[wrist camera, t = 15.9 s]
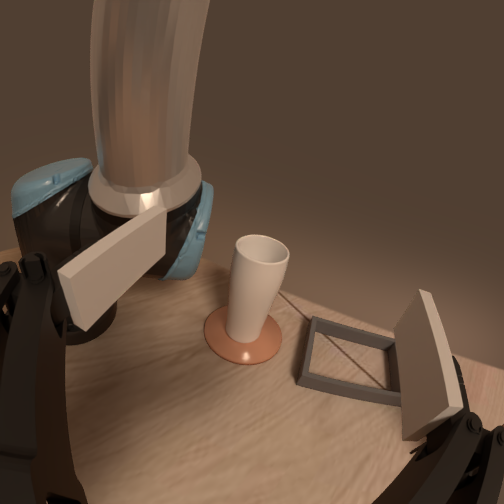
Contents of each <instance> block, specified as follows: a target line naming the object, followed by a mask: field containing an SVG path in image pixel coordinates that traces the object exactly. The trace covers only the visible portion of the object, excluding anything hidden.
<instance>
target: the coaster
mask: <svg viewBox="0 0 504 504" xmlns="http://www.w3.org/2000/svg"><path fill="white" fill-rule="evenodd" d="M227 310H228V306H224V307H221V308H219V309H217V310H215V311H214V312H212V313H211V314H210V316H209V317H208V318H207V320H206V323H205V328H204V335H205V339H206V341H207V344H208V345H209V347H210V348H211V349H212V350H213V351H214V352H215V353H216V354H217V355H218V356H220V357H221V358H223V359H225V360H227V361H229V362H232V363H236V364H241V365H255V364H260V363H263V362H265V361H267V360H269V359H271V358H272V357H273V356H274V355H275V354H276V353H277V352H278V350H279V348H280V345H281V342H282V333H281V330H280V327H279V325H278V324H277V322H276V321H275V320H274V319H273V318H272V317H271V316H270V315H268V316H267V318H266V320H265V323H264V325H263V327H262V330H261V333H260V336H259V337H258V338H257V339H256V340H255V341H253V342H251V343H239V342H236V341H234V340H233V339H231V338H230V337H229V336H228V334H227V332H226V321H227Z"/></svg>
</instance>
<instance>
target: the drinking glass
mask: <svg viewBox="0 0 504 504" xmlns="http://www.w3.org/2000/svg"><path fill="white" fill-rule="evenodd" d="M289 256H290V255H289V250H288V249H287V248H286V246H285V245H283V244H282V243H281V242H279V241H277V240H276V239H273V238H270V237H267V236H263V235H246V236H243V237H241V238H239V239H238V240H237V242H236V244H235V249H234V253H233V257H232V263H231V269H230V279H229V295H228V310H227V321H226V332H227V334H228V336H229V337H230V338H231V339H233V340H234V341H236V342H239V343H251V342H253V341H255V340H256V339H257V338H258V337H259V336H260V333H261V330H262V327H263V325H264V323H265V320H266V318H267V316H268V314H269V311H270V309H271V307H272V305H273V302H274V300H275V298H276V296H277V293H278V291H279V289H280V286H281V284H282V281H283V278H284V275H285V272H286V268H287V264H288V260H289Z"/></svg>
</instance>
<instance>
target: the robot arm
mask: <svg viewBox="0 0 504 504" xmlns="http://www.w3.org/2000/svg"><path fill="white" fill-rule="evenodd" d="M209 2H210V0H94V4H93V14H92V26H91V48H90V50H91V51H90V75H91V99H92V112H93V123H94V132H95V141H96V148H97V155H98V162H99V164H98V166H96V168H95V169H94V170H93V166H92V163H91V161H90V160H89V159H86V158H74V159H68V160H63V161H59V162H55V163H51V164H48V165H46V166H43V167H40V168H38V169H35V170H33V171H31V172H29V173H27V174H26V175H24V176H22V177H21V178H20V179H18V180H17V181H16V182H15V184H14V186H13V188H12V191H11V201H12V210H13V213H12V217H13V221H14V226H15V230H16V234H17V238H18V242H19V246H20V250H21V254H22V258H21V259H20V260H19V262H18V263H19V266H20V269H21V272H22V273H19V271H18V268H17V265H16V263H15V262H12V261H9V262H4V263H2V264H1V265H0V504H47V503H46V501H47V502H48V504H88V503H87V499H86V496H85V492H84V489H83V487H82V485H81V484H80V482H79V480H78V479H77V477H76V475H75V471H74V466H73V461H72V455H71V449H70V442H69V434H68V424H67V413H66V396H65V349H66V345H77V344H82V343H85V342H88V341H91V340H93V339H95V338H96V337H98V336H99V335H101V334H102V333H103V332H104V331H105V330H106V329H107V328H108V327H109V326H110V325H111V323H112V321H113V320H114V317H115V314H116V301H117V300H118V299H119V298H120V297H121V296H122V295H123V294H124V293H125V292H126V291H127V290H128V289H129V288H130V287H131V286H132V285H133V284H134V283H135V282H136V281H137V280H138V279H139V278H140V277H141V276H142V277H148V278H155V279H158V280H161V281H164V280H166V279H169V280H187V279H189V278H191V277H192V276H193V275H194V274H195V272H196V270H197V268H198V265H199V262H200V258H201V255H202V251H203V247H204V242H205V234H206V231H207V228H208V225H209V220H210V215H211V209H212V203H213V194H214V189H213V186H212V185H211V184H209V183H206V182H205V181H201V170H200V167H199V165H198V163H197V162H196V160H195V159H194V158H193V157H191V156H190V155H189V154H188V145H189V133H190V124H191V114H192V106H193V97H194V89H195V82H196V75H197V68H198V61H199V55H200V48H201V42H202V37H203V31H204V26H205V21H206V16H207V11H208V6H209ZM92 170H93V172H92ZM4 305H6V307H7V310H8V311H7V313H6V314H4V312H3V310H2V308H3V306H4ZM394 335H395V342H396V350H397V358H398V367H399V377H400V389H401V406H402V441H418V440H420V439H421V438H423V437H424V436H427V442H425V443H423V444H422V445H420V446H419V447H417V448H415V449H414V450H412V451H411V452H410V454H412V453H414V452H416V451H417V452H416V453H415V455H414V456H413V457H412V459H411V460H410V461H409V463H408V464H407V465H406V466H405V468H404V469H403V470H402V471H401V472H400V474H399V475H398V476H397V477H396V478H395V479H394V481H393V482H392V483H391V484H390V485H389V486H388V487H387V488H386V489H385V490H384V492H383V493H382V494H381V495H380V496H379V497H378V498H377V499H376V500H375V501H374V502H373V503H372V504H496V503H497V500H498V497H499V493H500V489H501V485H502V481H503V477H504V427H503V426H497V427H496V428H495V429H493V430H492V431H488V430H486V429H484V428H483V427H482V422H481V420H480V418H479V417H478V415H476V414H475V413H473V412H470V409H469V404H468V399H467V394H466V389H465V385H463V384H464V381H463V377H462V373H461V369H460V365H459V364H458V362H457V360H456V358H455V357H454V356H452V355H451V352H450V348H449V345H448V342H447V338H446V335H445V332H444V329H443V326H442V323H441V320H440V317H439V315H438V312H437V309H436V306H435V304H434V301H433V298H432V296H431V293H429V292H426V291H423V290H420V289H419V290H418V291H417V293H416V295H415V296H414V298H413V300H412V301H411V303H410V304H409V306H408V308H407V309H406V311H405V312H404V314H403V315H402V317H401V318H400V320H399V321H398V323H397V324H396V326H395V327H394ZM477 468H479V469H478V473H477V474H475V475H473V476H472V471H473V470H475V469H477Z"/></svg>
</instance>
